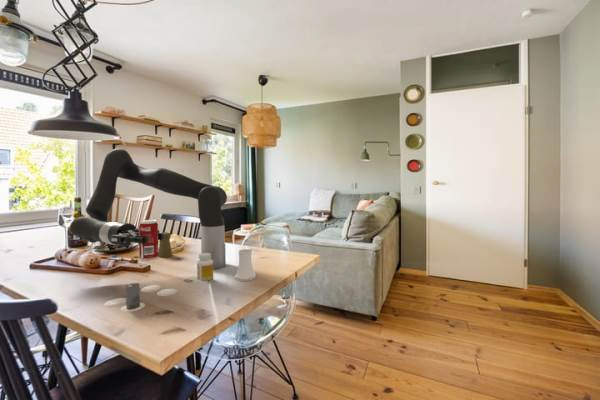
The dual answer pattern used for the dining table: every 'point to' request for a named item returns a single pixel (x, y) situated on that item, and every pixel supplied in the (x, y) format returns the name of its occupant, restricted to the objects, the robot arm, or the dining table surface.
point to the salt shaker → (245, 266)
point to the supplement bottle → (205, 267)
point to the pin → (132, 296)
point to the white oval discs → (147, 289)
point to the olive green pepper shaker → (165, 246)
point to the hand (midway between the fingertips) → (154, 238)
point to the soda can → (149, 240)
